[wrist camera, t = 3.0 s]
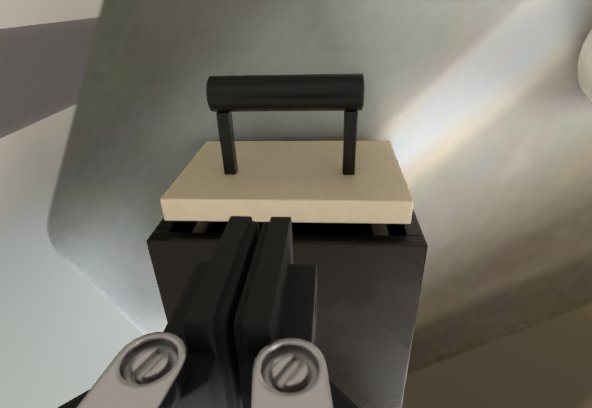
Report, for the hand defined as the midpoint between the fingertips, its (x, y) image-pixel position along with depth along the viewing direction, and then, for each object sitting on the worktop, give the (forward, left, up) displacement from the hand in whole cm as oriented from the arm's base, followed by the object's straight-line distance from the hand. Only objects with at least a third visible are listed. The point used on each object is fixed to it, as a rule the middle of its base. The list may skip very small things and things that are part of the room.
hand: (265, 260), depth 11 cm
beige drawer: (0, -6, -14) cm, 15 cm away
